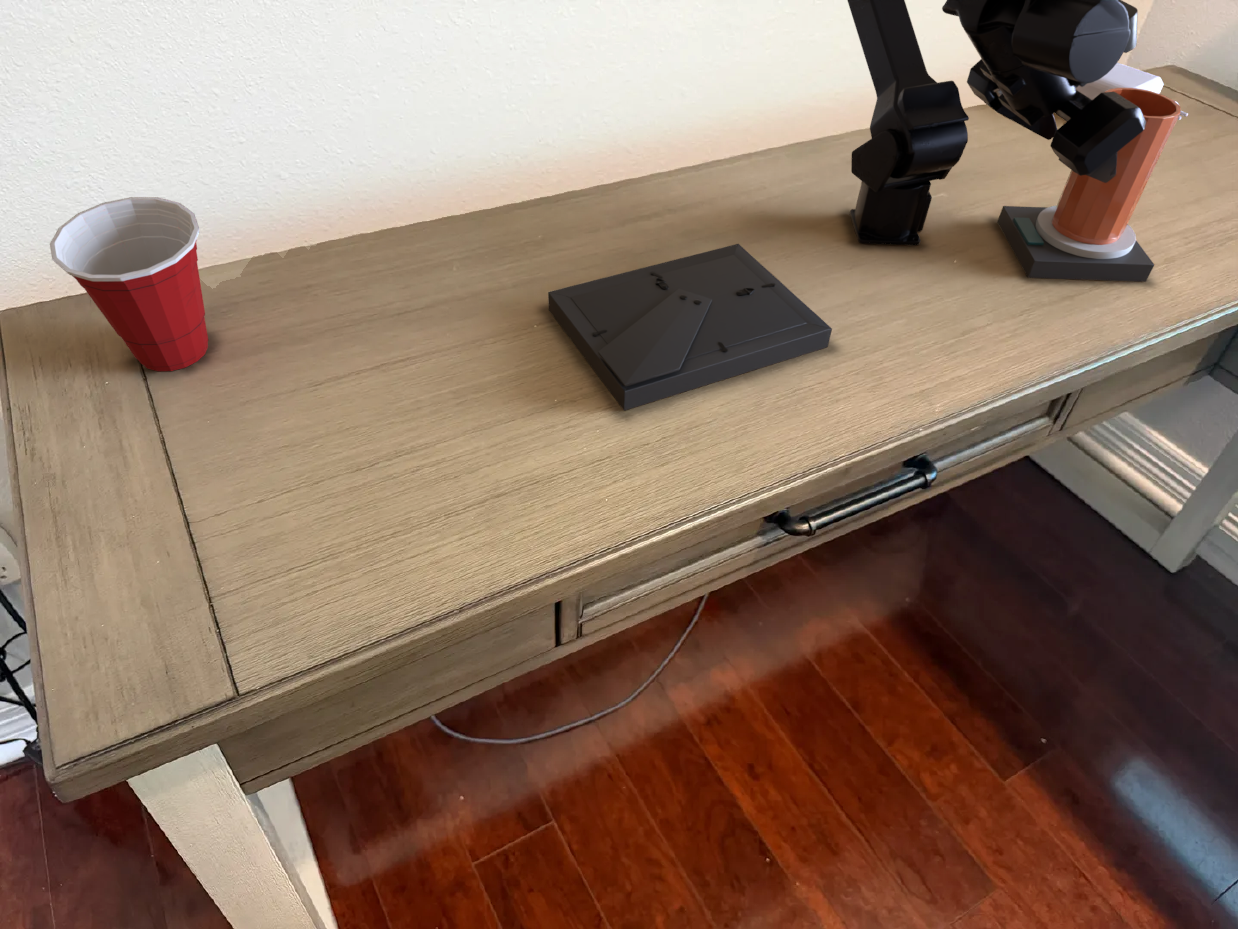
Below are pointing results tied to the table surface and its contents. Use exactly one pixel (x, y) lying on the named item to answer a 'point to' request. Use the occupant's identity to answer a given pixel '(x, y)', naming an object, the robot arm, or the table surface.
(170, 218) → the plastic cup
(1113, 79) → the charger
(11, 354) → the table surface
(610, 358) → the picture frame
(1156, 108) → the tumbler
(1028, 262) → the scale
